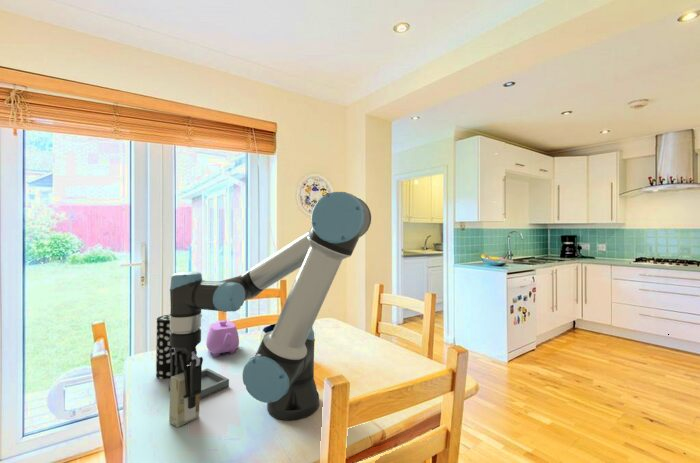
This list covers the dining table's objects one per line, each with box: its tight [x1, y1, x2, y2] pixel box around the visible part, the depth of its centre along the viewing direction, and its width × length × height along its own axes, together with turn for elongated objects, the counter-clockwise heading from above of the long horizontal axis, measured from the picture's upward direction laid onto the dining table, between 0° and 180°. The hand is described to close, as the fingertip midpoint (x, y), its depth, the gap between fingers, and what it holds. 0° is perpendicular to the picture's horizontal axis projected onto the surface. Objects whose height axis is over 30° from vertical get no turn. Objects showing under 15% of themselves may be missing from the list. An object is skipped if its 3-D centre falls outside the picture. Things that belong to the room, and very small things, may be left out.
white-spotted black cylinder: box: [155, 314, 173, 380], centre depth 113 cm, size 8×8×20 cm
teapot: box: [205, 319, 240, 357], centre depth 134 cm, size 20×12×13 cm, turn 33°
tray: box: [168, 367, 230, 401], centre depth 103 cm, size 13×13×2 cm
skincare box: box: [168, 372, 201, 428], centre depth 87 cm, size 6×4×12 cm
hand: (184, 414), depth 87 cm, fingers closed on skincare box, 5 cm apart
